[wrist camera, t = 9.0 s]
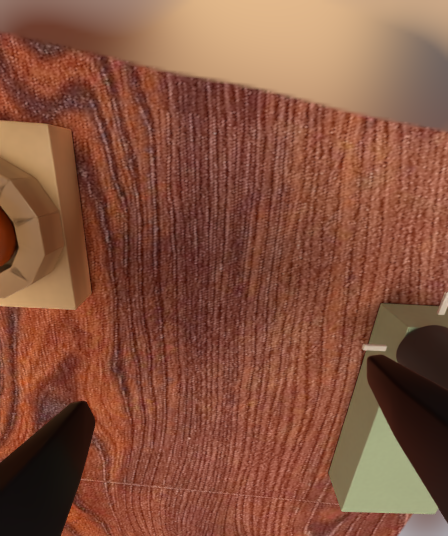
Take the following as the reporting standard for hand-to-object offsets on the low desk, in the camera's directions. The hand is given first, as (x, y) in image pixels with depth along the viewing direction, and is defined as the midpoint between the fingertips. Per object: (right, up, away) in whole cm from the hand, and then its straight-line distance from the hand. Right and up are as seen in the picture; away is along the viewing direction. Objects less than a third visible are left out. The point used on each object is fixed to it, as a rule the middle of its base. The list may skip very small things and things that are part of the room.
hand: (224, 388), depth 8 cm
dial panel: (+13, -6, +13) cm, 19 cm away
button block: (-12, +7, +8) cm, 16 cm away
